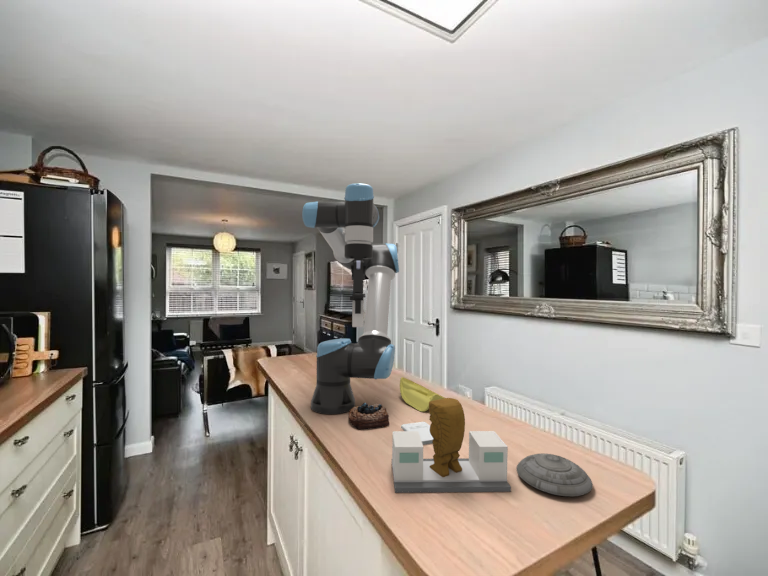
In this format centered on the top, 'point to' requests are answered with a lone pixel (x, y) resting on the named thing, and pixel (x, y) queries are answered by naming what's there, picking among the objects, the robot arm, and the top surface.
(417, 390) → the plastic component
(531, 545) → the top surface
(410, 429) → the external hard drive
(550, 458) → the flying saucer
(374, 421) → the pastry
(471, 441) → the rail board
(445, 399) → the figurine
